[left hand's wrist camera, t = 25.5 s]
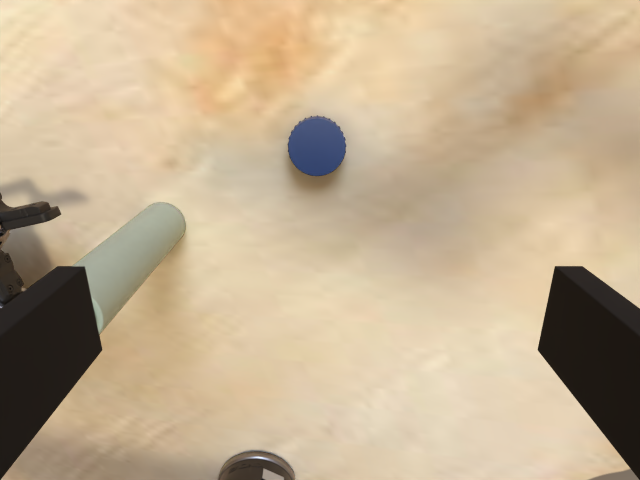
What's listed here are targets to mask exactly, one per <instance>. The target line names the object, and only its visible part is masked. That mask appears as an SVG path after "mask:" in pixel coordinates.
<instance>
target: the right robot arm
mask: <svg viewBox="0 0 640 480" xmlns="http://www.w3.org/2000/svg"><path fill="white" fill-rule="evenodd" d="M1 199H2V195H1V193H0V249H1V248H2V246H3V244H4V243H5V241H6V240H7V238H8V237H9V235H10V233H9V231H10V230H11V229H16V228H20V227H25V226H29V225H34V224H39V223H43V222H47V221H50V220H52V219H54V218H56V217H57V216H59V215H61V212H60V210H59V208H58V206H56V207H51V208H50V205H49V203H47V202H38V203H33V204H29V205H24V206H19V207H15V208H12V207H9V206H7V205H6V204H4V203H3V201H2V200H1ZM23 285H24V283H23V281H22V279H21V277H20V276H19V275H18V274H17V272H16V271H15V270H14V267H13V262H12V260H11V258H10V256H9V254H8V253H6V254H5V253H4V252H3V251H2V250H0V309H1V308H2V307H3V306H5V305H6V304H7V303H9V302H10V301H11V300H13V299H14V298H15V297H17V296H18V295H20V294H21V293H22V292H24V291H25V290H26V289H25V288H23V287H21V286H23ZM218 480H295V476H294V473H293V471H292V469H291V468H290V466H289V465H288V464H287V463H286V462H285V461H284V460H282V459H281V458H279V457H277V456H275V455H272V454H269V453H265V452H246V453H242V454H239V455H236V456H234V457H233V458H231V459H230V460H228V461H227V462H226V463H225V464H224V466H223V467H222V469H221V472H220V475H219V479H218Z"/></svg>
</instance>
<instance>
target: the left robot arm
mask: <svg viewBox="0 0 640 480" xmlns="http://www.w3.org/2000/svg"><path fill="white" fill-rule="evenodd" d="M101 351H102V346H101V341H100V336H99V332H98V327H97V322H96V317H95V312H94V307H93V303H92V298H91V293H90V288H89V283H88V278H87V274H86V269H85V266H57V267H56V268H55V269H53V270H52V271H51V272H49V273H48V274H47V275H45V276H44V277H43V278H41V279H40V280H38V281H37V282H36V283H34V284H33V285H32V286H30V287H29V288H28V289H26V290H25V291H24V292H22V293H21V294H20V295H18V296H17V297H15V298H14V299H13V300H11V301H10V302H9V303H7V304H6V305H5V306H3V307H2V308H1V309H0V480H1V478H2V477H3V476H4V475H5V473H6V472H7V471H8V470H9V468H10V467H11V466H12V464H13V463H14V462H15V461H16V459H17V458H18V457H19V455H20V454H21V453H22V452H23V450H24V449H25V448H26V447H27V445H28V444H29V443H30V441H31V440H32V439H33V438H34V436H35V435H36V434H37V433H38V431H39V430H40V429H41V427H42V426H43V425H44V424H45V422H46V421H47V420H48V419H49V417H50V416H51V415H52V413H53V412H54V411H55V410H56V408H57V407H58V406H59V404H60V403H61V402H62V401H63V399H64V398H65V397H66V396H67V394H68V393H69V392H70V390H71V389H72V388H73V387H74V385H75V384H76V383H77V382H78V380H79V379H80V378H81V376H82V375H83V374H84V373H85V371H86V370H87V369H88V368H89V366H90V365H91V364H92V362H93V361H94V360H95V359H96V357H97V356H98V355H99V353H100V352H101ZM538 351H539V352H540V353H541V355H542V356H543V357H544V359H545V360H546V361H547V362H548V364H549V365H550V366H551V368H552V369H553V370H554V371H555V373H556V374H557V375H558V376H559V378H560V379H561V380H562V382H563V383H564V384H565V385H566V387H567V388H568V389H569V390H570V392H571V393H572V394H573V396H574V397H575V398H576V399H577V401H578V402H579V403H580V404H581V406H582V407H583V408H584V410H585V411H586V412H587V413H588V415H589V416H590V417H591V419H592V420H593V421H594V422H595V424H596V425H597V426H598V427H599V429H600V430H601V431H602V433H603V434H604V435H605V436H606V438H607V439H608V440H609V441H610V443H611V444H612V445H613V447H614V448H615V449H616V450H617V452H618V453H619V454H620V455H621V457H622V458H623V459H624V461H625V462H626V463H627V464H628V466H629V467H630V468H631V470H632V471H633V472H634V473H635V475H636V476H637V477H638V478H639V480H640V309H639V308H638V307H637V306H635V305H634V304H633V303H631V302H630V301H629V300H627V299H626V298H625V297H623V296H622V295H620V294H619V293H618V292H616V291H615V290H614V289H612V288H611V287H610V286H608V285H607V284H606V283H604V282H603V281H602V280H600V279H599V278H597V277H596V276H595V275H593V274H592V273H591V272H589V271H588V270H587V269H585V268H584V267H583V266H555V269H554V274H553V278H552V283H551V288H550V293H549V298H548V303H547V307H546V312H545V317H544V322H543V327H542V332H541V336H540V341H539V346H538Z"/></svg>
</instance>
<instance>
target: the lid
mask: <svg viewBox="0 0 640 480" xmlns="http://www.w3.org/2000/svg"><path fill="white" fill-rule="evenodd" d="M291 133H292V134H291V136H290V137H289V143H288V152H289V155H290V158H291V160H292V162H293V164H294V165H295V166H296V167H297V168H298V169H299V170H300V171H302V172H303V173H305V174H308V175H312V176H322V175H326V174H329V173H331V172H332V171H334V170H335V169H336V168H337V167H338V166H339V165H340V164H341V162H342V160H343V159H344V155H345V153H346V151H345V147H346V144H345V137H343V132H341V130H340V127H339V126H337V125H336V123H335V122H333V121H331V120H330V119H327V118H324V116H323V117H318V116H317V117H312V116H311V117H310V118H307V119H306V118H305V119H304V120H303V121H300V122H299V124H298V125H297V126H295V127H294V130H292V132H291Z"/></svg>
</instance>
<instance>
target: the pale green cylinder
mask: <svg viewBox="0 0 640 480" xmlns="http://www.w3.org/2000/svg"><path fill="white" fill-rule="evenodd" d="M185 227H186V226H185V220H184V217H183V215H182V214H181V212H180V211H179V210H178V209H177V208H176V207H174V206H172V205H170V204H167V203H154V204H152V205H150V206H148V207H147V208H146V209H145V210H143V211H142V212H141V213H139V214H138V215H137V216H136V217H134V218H133V219H132V220H130V221H129V222H128V223H127V224H125V225H124V226H123V227H122V228H120V229H119V230H118V231H116V232H115V233H114V234H113V235H111V236H110V237H109V238H107V239H106V240H105V241H104V242H102V243H101V244H100V245H98V246H97V247H96V248H95V249H93V250H92V251H91V252H90V253H88V254H87V255H86V256H84V257H83V258H82V259H81V260H79V261H78V262H77V263H75V264H74V265H73V266H85V269H86V274H87V278H88V283H89V288H90V293H91V298H92V303H93V307H94V312H95V317H96V322H97V327H98V332H99V335H100V333H101V332H102V331H103V330H104V329H105V328H106V326H107V325H108V324H109V323H110V322H111V320H112V319H113V318H114V317H115V316H116V314H117V313H118V312H119V311H120V310H121V309H122V307H123V306H124V305H125V304H126V303H127V301H128V300H129V299H130V298H131V297H132V295H133V294H134V293H135V292H136V291H137V289H138V288H139V287H140V286H141V285H142V284H143V282H144V281H145V280H146V279H147V278H148V276H149V275H150V274H151V273H152V272H153V270H154V269H155V268H156V267H157V266H158V264H159V263H160V262H161V261H162V260H163V259H164V257H165V256H166V255H167V254H168V253H169V251H170V250H171V249H172V248H173V247H174V245H175V244H176V243H177V242H178V241H179V240H180V238H181V237H182V236H183V234H184V232H185Z"/></svg>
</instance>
